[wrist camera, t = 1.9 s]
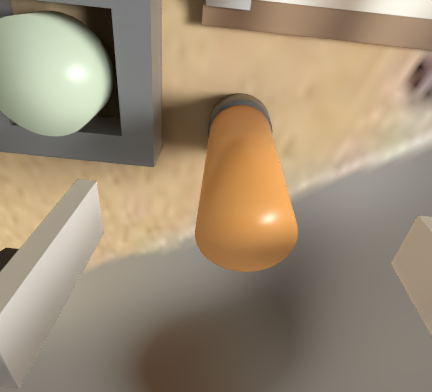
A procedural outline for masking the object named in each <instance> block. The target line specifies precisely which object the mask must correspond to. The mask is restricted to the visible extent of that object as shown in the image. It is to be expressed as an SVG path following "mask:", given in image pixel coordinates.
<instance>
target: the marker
mask: <svg viewBox="0 0 432 392" xmlns="http://www.w3.org/2000/svg"><path fill="white" fill-rule="evenodd" d="M208 138H209V140H208V147H207V154H206V161H205V168H204V174H203V181H202V188H201V195H200V202H199V208H198V215H197V222H196V229H195V238H196V242H197V245H198V247H199V249H200V251H201V252H202V253H203V255H204V256H205V257H206V258H207V259H209V260H210V261H211V262H213V263H214V264H216V265H218V266H220V267H222V268H225V269H229V270H233V271H241V272H251V271H258V270H263V269H266V268H269V267H271V266H274V265H275V264H277V263H279V262H280V261H282V260H283V259H284V258H285V257H287V255H289V253H290V252H291V251H292V249H293V248H294V246H295V244H296V241H297V237H298V228H297V223H296V219H295V216H294V212H293V208H292V205H291V201H290V197H289V194H288V190H287V186H286V183H285V179H284V175H283V172H282V168H281V164H280V161H279V157H278V153H277V150H276V146H275V142H274V139H273V135H272V125H271V122H270V118H269V115H268V112H267V109H266V108H265V106H264V105H263V103H262V102H261V101H260V100H258V99H257V98H255V97H253V96H251V95H248V94H233V95H230V96H227V97H225V98H224V99H222V100H221V101H220V102H219V103H218V104H217V105H216V106H215V108H214V109H213V111H212V114H211V117H210V124H209V130H208Z"/></svg>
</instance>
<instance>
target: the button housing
mask: <svg viewBox="0 0 432 392" xmlns="http://www.w3.org/2000/svg"><path fill="white" fill-rule="evenodd" d="M38 1H47V2H56V3H66V4H75V5H84V6H93V7H102V8H111V11H112V23H113V35H114V47H115V59H116V71H117V83H118V95H119V107H120V118H115V117H105V116H94V117H93V118H92V119H91V120H90V121H89V122H88V123H87V124H86V125H85V126H83V127H82V128H81V129H80V130H78V131H76V132H74V133H72V134H69V135H65V136H46V135H41V134H37V133H34V132H32V131H29V130H27V129H25V128H23V127H21V126H19V125H18V124H16V123H15V122H13V121H12V120H11V119H9V118H8V117H7V116H6V115H5V114H4V113H2V112H1V111H0V152H8V153H18V154H28V155H38V156H48V157H58V158H68V159H78V160H88V161H98V162H108V163H118V164H128V165H137V166H147V167H154V166H155V164H156V161H157V159H158V157H159V154H160V152H161V150H162V18H161V0H38ZM12 15H13V13H12V8H11V4H10V0H0V18H2V17H6V16H12Z"/></svg>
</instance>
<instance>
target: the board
mask: <svg viewBox="0 0 432 392" xmlns="http://www.w3.org/2000/svg"><path fill="white" fill-rule="evenodd" d="M202 25H207V26H216V27H225V28H234V29H244V30H253V31H262V32H271V33H280V34H289V35H299V36H308V37H317V38H326V39H335V40H345V41H354V42H363V43H372V44H381V45H391V46H400V47H409V48H418V49H427V50H432V0H203V13H202Z"/></svg>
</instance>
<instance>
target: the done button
mask: <svg viewBox="0 0 432 392" xmlns="http://www.w3.org/2000/svg"><path fill="white" fill-rule="evenodd" d="M113 86H114V72H113V66H112V63H111V59H110V57H109V54H108V52H107V50H106V48H105V46H104V45H103V43H102V42H101V40H100V39H99V38H98V37H97V35H96V34H95V33H94V32H93V31H92V30H91V29H90V28H89V27H87V26H86V25H85V24H84V23H82V22H81V21H79V20H78V19H76V18H74V17H72V16H70V15H68V14H64V13H61V12H56V11H40V12H33V13H26V14H19V15H12V16H6V17H2V18H0V111H1V112H2V113H4V114H5V115H6V116H7V117H8V118H9V119H11V120H12V121H13V122H15V123H16V124H18V125H19V126H21V127H23V128H25V129H27V130H29V131H32V132H34V133H37V134H41V135H46V136H65V135H69V134H72V133H74V132H76V131H78V130H80V129H81V128H82V127H83V126H85V125H86V124H87V123H88V122H89V121H90V120H91V119H92V118H93V117H94V116H95V115H96V114H97V113H98V112H99V111H100V110H101V109H102V108H103V107H104V106H105V105H106V104H107V102H108V101H109V99H110V97H111V94H112V91H113Z"/></svg>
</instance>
